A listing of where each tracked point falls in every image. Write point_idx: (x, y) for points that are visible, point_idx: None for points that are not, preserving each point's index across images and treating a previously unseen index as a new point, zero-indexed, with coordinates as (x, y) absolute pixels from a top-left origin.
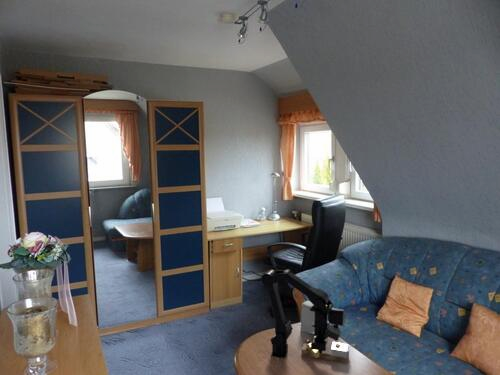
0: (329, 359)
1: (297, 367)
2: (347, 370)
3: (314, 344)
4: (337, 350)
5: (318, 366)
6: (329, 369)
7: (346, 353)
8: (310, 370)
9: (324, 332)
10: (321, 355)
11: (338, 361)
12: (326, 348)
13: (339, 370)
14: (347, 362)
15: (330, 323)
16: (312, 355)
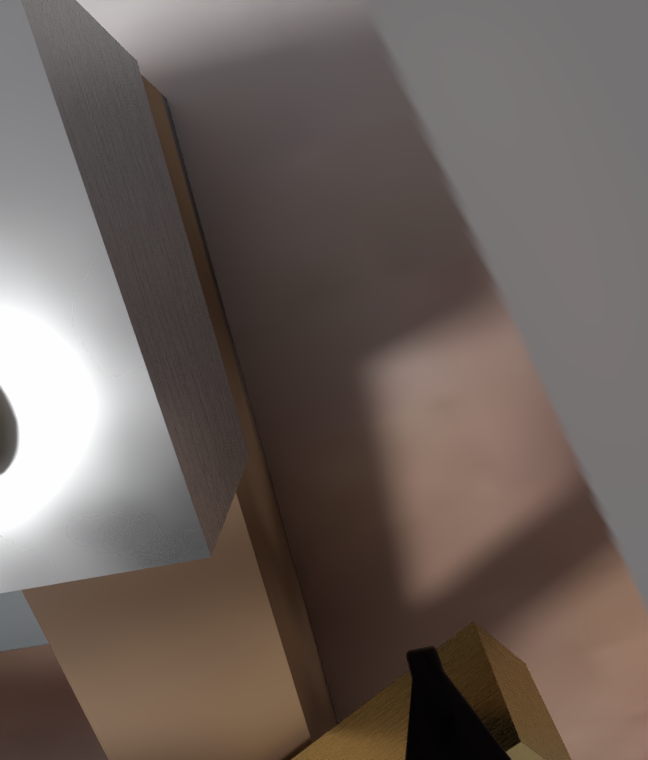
0: (253, 437)
1: (618, 704)
2: (382, 39)
3: None
4: (152, 359)
5: (488, 514)
6: (496, 354)
7: (64, 8)
8: (628, 570)
9: None
10: (280, 580)
11: (214, 286)
12: (70, 594)
13: (452, 190)
14: (159, 100)
15: None
16: (313, 666)
